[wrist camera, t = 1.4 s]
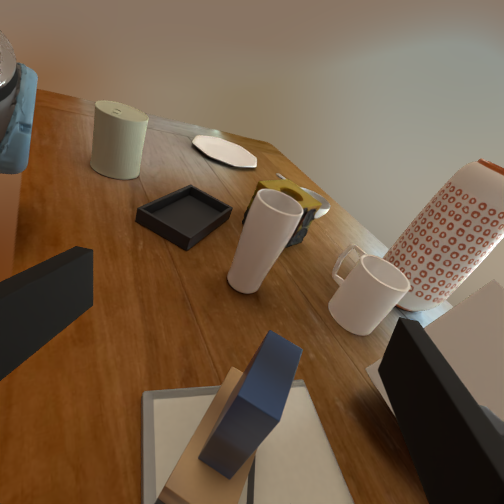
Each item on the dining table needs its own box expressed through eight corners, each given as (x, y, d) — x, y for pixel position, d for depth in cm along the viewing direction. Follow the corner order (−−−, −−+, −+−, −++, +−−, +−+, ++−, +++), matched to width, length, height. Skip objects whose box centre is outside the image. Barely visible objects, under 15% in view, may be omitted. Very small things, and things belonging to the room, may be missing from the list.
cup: (336, 280, 59) (365, 239, 53) (381, 330, 51) (420, 288, 46) (306, 284, 54) (334, 239, 49) (351, 340, 47) (390, 294, 41)
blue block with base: (210, 546, 22) (285, 479, 15) (153, 505, 23) (199, 422, 16) (261, 414, 31) (322, 334, 24) (219, 387, 32) (267, 302, 25)
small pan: (311, 223, 76) (319, 210, 74) (260, 186, 83) (265, 173, 81) (330, 217, 84) (337, 205, 82) (282, 183, 91) (287, 172, 89)
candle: (270, 217, 70) (288, 178, 65) (302, 243, 66) (324, 203, 60) (239, 222, 63) (256, 179, 58) (273, 252, 58) (295, 208, 53)
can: (80, 167, 57) (84, 102, 51) (102, 153, 65) (108, 94, 59) (130, 184, 59) (139, 123, 53) (145, 168, 67) (155, 113, 60)
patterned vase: (356, 278, 62) (453, 146, 47) (387, 269, 71) (478, 155, 56) (410, 328, 55) (546, 191, 40) (437, 312, 63) (558, 194, 48)
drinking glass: (237, 303, 44) (279, 217, 36) (213, 272, 47) (246, 187, 39) (270, 293, 48) (314, 214, 40) (246, 265, 52) (281, 188, 44)
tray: (186, 251, 49) (190, 238, 48) (134, 221, 51) (137, 207, 49) (229, 218, 63) (233, 207, 61) (187, 195, 64) (190, 184, 63)
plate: (198, 134, 99) (200, 130, 98) (255, 156, 103) (257, 152, 102) (186, 152, 83) (187, 147, 82) (254, 178, 86) (256, 173, 85)
